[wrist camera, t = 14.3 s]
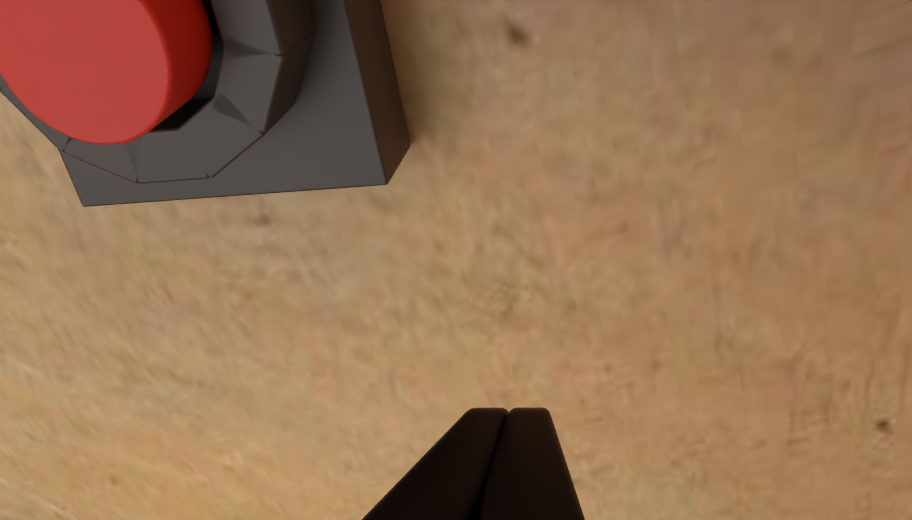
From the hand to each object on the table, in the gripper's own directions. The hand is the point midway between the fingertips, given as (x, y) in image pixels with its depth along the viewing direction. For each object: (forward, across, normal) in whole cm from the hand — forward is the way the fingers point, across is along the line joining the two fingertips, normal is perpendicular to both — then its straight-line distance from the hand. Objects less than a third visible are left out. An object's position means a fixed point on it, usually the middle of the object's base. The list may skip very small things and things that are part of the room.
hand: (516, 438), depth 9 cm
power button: (+8, +9, -3) cm, 12 cm away
